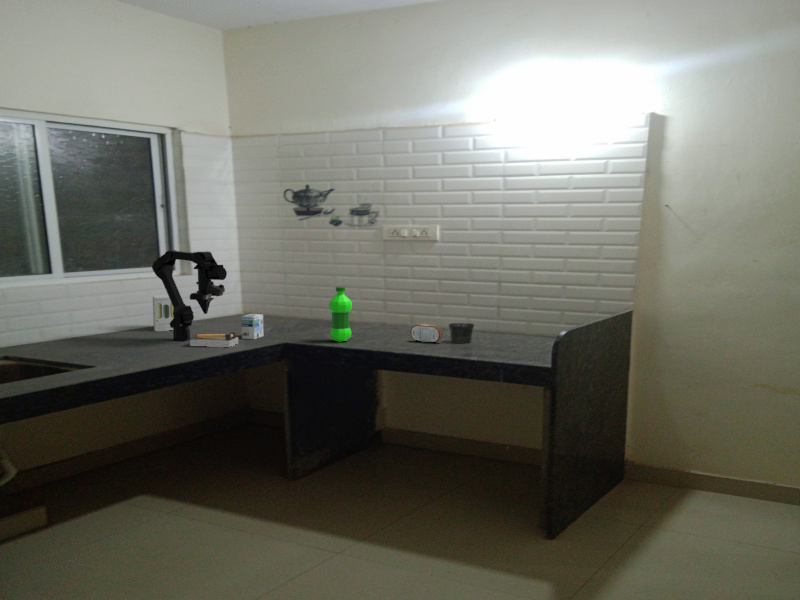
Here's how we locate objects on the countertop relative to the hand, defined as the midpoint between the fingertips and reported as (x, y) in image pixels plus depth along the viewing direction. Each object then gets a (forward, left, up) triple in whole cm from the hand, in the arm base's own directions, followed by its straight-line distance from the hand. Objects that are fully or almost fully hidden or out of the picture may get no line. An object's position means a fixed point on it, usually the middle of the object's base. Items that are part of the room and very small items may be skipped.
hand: (205, 313), depth 287 cm
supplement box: (-37, +35, -13) cm, 53 cm away
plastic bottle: (+60, +11, -13) cm, 62 cm away
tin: (+99, +14, -13) cm, 101 cm away
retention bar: (+7, -7, -10) cm, 14 cm away
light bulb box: (+16, +16, -13) cm, 26 cm away
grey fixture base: (+7, -7, -13) cm, 16 cm away
